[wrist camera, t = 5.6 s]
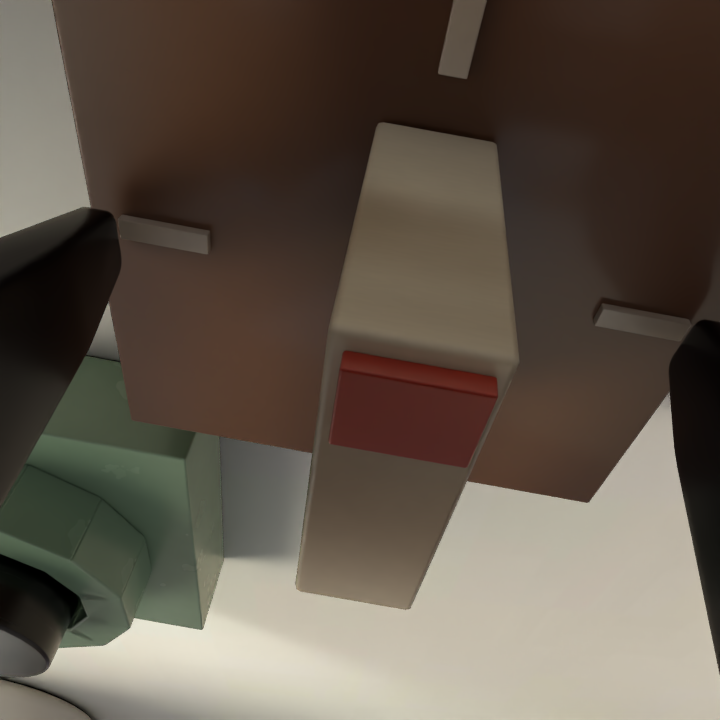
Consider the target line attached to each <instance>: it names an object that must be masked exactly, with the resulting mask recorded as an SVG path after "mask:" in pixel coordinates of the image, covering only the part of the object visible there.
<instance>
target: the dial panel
mask: <svg viewBox="0 0 720 720" xmlns="http://www.w3.org/2000/svg"><path fill="white" fill-rule="evenodd" d="M51 1H52V6H53V11H54V16H55V22H56V27H57V32H58V37H59V43H60V48H61V53H62V58H63V64H64V69H65V74H66V79H67V85H68V90H69V95H70V100H71V106H72V111H73V116H74V121H75V127H76V132H77V137H78V142H79V148H80V153H81V158H82V163H83V169H84V174H85V179H86V184H87V190H88V195H89V200H90V205H91V208H95V209H100V210H106V211H109V212H110V213H112V214H113V216H114V218H115V221H116V226H117V232H118V238H119V244H120V250H121V256H122V265H121V270H120V274H119V276H118V279H117V281H116V284H115V286H114V289H113V291H112V294H111V296H110V299H109V305H110V310H111V316H112V321H113V326H114V331H115V337H116V342H117V347H118V352H119V358H120V363H121V368H122V373H123V379H124V384H125V389H126V394H127V400H128V405H129V410H130V415H131V420H133V421H137V422H143V423H148V424H154V425H159V426H165V427H170V428H176V429H181V430H187V431H192V432H198V433H204V434H209V435H215V436H220V437H226V438H231V439H237V440H242V441H248V442H253V443H259V444H264V445H270V446H276V447H281V448H287V449H292V450H298V451H303V452H309V453H312V451H313V444H314V436H315V428H316V420H317V413H318V405H319V397H320V389H321V382H322V374H323V366H324V358H325V351H326V343H327V335H328V328H329V324H330V319H331V315H332V311H333V307H334V302H335V298H336V294H337V290H338V286H339V281H340V277H341V273H342V269H343V265H344V260H345V256H346V252H347V248H348V243H349V239H350V235H351V231H352V227H353V222H354V218H355V214H356V210H357V206H358V201H359V197H360V193H361V189H362V185H363V180H364V176H365V172H366V168H367V163H368V159H369V155H370V151H371V147H372V142H373V138H374V134H375V130H376V127H377V125H378V123H382V122H385V123H390V124H396V125H401V126H407V127H412V128H418V129H423V130H429V131H434V132H440V133H445V134H451V135H456V136H462V137H467V138H473V139H478V140H484V141H489V142H493V143H495V144H496V145H497V152H498V162H499V171H500V181H501V190H502V200H503V209H504V218H505V228H506V237H507V247H508V256H509V266H510V275H511V285H512V294H513V303H514V313H515V322H516V332H517V341H518V351H519V360H520V363H519V365H518V367H517V369H516V372H515V374H514V376H513V379H512V381H511V383H510V385H509V388H508V390H507V392H506V394H505V397H504V399H503V401H502V403H501V406H500V408H499V410H498V412H497V415H496V417H495V419H494V421H493V424H492V426H491V428H490V430H489V433H488V435H487V437H486V439H485V442H484V444H483V446H482V448H481V451H480V453H479V455H478V457H477V460H476V462H475V464H474V466H473V469H472V471H471V473H470V475H469V478H468V480H467V481H469V482H475V483H480V484H486V485H491V486H497V487H502V488H508V489H514V490H519V491H525V492H530V493H536V494H541V495H547V496H552V497H558V498H563V499H569V500H574V501H580V502H586V503H588V502H589V501H590V500H591V499H592V497H593V496H594V495H595V493H596V492H597V490H598V489H599V488H600V486H601V485H602V484H603V482H604V481H605V479H606V478H607V477H608V475H609V474H610V473H611V471H612V470H613V469H614V467H615V466H616V464H617V463H618V462H619V460H620V459H621V458H622V456H623V455H624V453H625V452H626V451H627V449H628V448H629V447H630V445H631V444H632V442H633V441H634V440H635V438H636V437H637V436H638V434H639V433H640V431H641V430H642V429H643V427H644V426H645V425H646V423H647V422H648V420H649V419H650V418H651V416H652V415H653V414H654V412H655V411H656V409H657V408H658V407H659V405H660V404H661V403H662V401H663V400H664V398H665V397H666V396H667V394H668V393H669V392H670V386H669V364H670V361H671V359H672V357H673V355H674V353H675V352H676V350H677V349H678V348H679V346H680V345H681V343H682V342H683V340H684V339H685V337H686V336H687V334H688V333H689V332H690V330H691V329H692V327H693V326H694V325H695V324H696V323H697V322H698V321H700V320H704V319H706V320H712V321H718V322H720V0H51Z"/></svg>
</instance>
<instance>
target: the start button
mask: <svg viewBox="0 0 720 720" xmlns="http://www.w3.org/2000/svg"><path fill="white" fill-rule="evenodd" d="M77 606H78V597H77V594H75V593H74V592H72V591H71V590H70V589H68V588H67V587H65V586H64V585H63V584H61V583H60V582H58V581H57V580H56V579H54V578H53V577H51V576H50V575H49V574H47V573H46V572H44V571H42V570H40V569H37V568H35V567H32V566H29V565H27V564H24V563H22V562H19V561H17V560H14V559H12V558H9V557H7V556H4V555H2V554H0V676H4V677H29V676H35V675H39V674H41V673H43V672H45V671H46V670H47V669H48V668H49V667H50V665H51V662H52V660H53V658H54V656H55V654H56V652H57V649H58V647H59V645H60V643H61V641H62V639H63V636H64V634H65V632H66V630H67V628H68V626H69V623H70V621H71V619H72V617H73V615H74V613H75V610H76V608H77Z"/></svg>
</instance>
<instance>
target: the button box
mask: <svg viewBox="0 0 720 720" xmlns="http://www.w3.org/2000/svg"><path fill="white" fill-rule="evenodd" d="M0 554H2V555H4V556H7V557H9V558H12V559H14V560H17V561H19V562H22V563H24V564H27V565H29V566H32V567H35V568H37V569H40V570H42V571H44V572H46V573H47V574H49V575H50V576H51V577H53V578H54V579H56V580H57V581H58V582H60V583H61V584H63V585H64V586H65V587H67V588H68V589H70V590H71V591H72V592H74V593H75V594H77V597H78V606H77V608H76V610H75V613H74V615H73V617H72V619H71V621H70V623H69V626H68V628H67V630H66V632H65V634H64V636H63V639H62V641H61V643H60V645H59V647H58V648H67V647H86V646H103V645H106V644H108V643H109V642H111V641H112V640H114V639H115V638H116V637H118V636H119V635H121V634H122V633H124V632H125V631H127V630H128V629H129V628H130V627H131V624H132V622H133V619H134V618H137V619H143V620H149V621H154V622H160V623H165V624H171V625H177V626H182V627H188V628H194V629H199V630H202V629H203V628H204V624H205V621H206V618H207V614H208V611H209V608H210V604H211V601H212V598H213V594H214V591H215V588H216V584H217V581H218V578H219V574H220V571H221V568H222V564H223V561H224V554H223V525H222V497H221V469H220V440H219V436H215V435H209V434H204V433H198V432H192V431H187V430H181V429H176V428H170V427H165V426H159V425H154V424H148V423H143V422H137V421H133V420H131V415H130V410H129V405H128V400H127V394H126V389H125V384H124V379H123V373H122V368H121V363H120V362H117V361H111V360H106V359H100V358H95V357H89V356H85V357H84V359H83V361H82V363H81V365H80V367H79V369H78V370H77V372H76V374H75V376H74V377H73V379H72V381H71V383H70V385H69V386H68V388H67V390H66V392H65V394H64V395H63V397H62V399H61V401H60V403H59V404H58V406H57V408H56V410H55V411H54V413H53V415H52V417H51V419H50V420H49V422H48V424H47V426H46V428H45V429H44V431H43V433H42V435H41V436H40V438H39V440H38V442H37V444H36V445H35V447H34V449H33V451H32V453H31V454H30V456H29V458H28V460H27V461H26V463H25V465H24V467H23V469H22V470H21V472H20V474H19V476H18V478H17V479H16V481H15V483H14V485H13V487H12V488H11V490H10V492H9V494H8V495H7V497H6V499H5V501H4V503H3V504H2V506H1V508H0Z"/></svg>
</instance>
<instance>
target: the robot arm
mask: <svg viewBox="0 0 720 720" xmlns="http://www.w3.org/2000/svg"><path fill="white" fill-rule="evenodd" d="M121 265H122V256H121V250H120V244H119V238H118V232H117V226H116V221H115V218H114V216H113V214H112V213H110V212H109V211H106V210H100V209H95V208H89V207H82V208H79V209H76V210H74V211H71V212H68V213H66V214H63V215H60V216H58V217H55V218H52V219H50V220H47V221H44V222H41V223H39V224H36V225H33V226H31V227H28V228H25V229H23V230H20V231H17V232H15V233H12V234H9V235H6V236H4V237H1V238H0V508H1V506H2V504H3V503H4V501H5V499H6V497H7V495H8V494H9V492H10V490H11V488H12V487H13V485H14V483H15V481H16V479H17V478H18V476H19V474H20V472H21V470H22V469H23V467H24V465H25V463H26V461H27V460H28V458H29V456H30V454H31V453H32V451H33V449H34V447H35V445H36V444H37V442H38V440H39V438H40V436H41V435H42V433H43V431H44V429H45V428H46V426H47V424H48V422H49V420H50V419H51V417H52V415H53V413H54V411H55V410H56V408H57V406H58V404H59V403H60V401H61V399H62V397H63V395H64V394H65V392H66V390H67V388H68V386H69V385H70V383H71V381H72V379H73V377H74V376H75V374H76V372H77V370H78V369H79V367H80V365H81V363H82V361H83V359H84V357H85V356H86V354H87V352H88V350H89V348H90V345H91V343H92V341H93V338H94V336H95V334H96V331H97V329H98V326H99V324H100V321H101V319H102V316H103V314H104V311H105V309H106V306H107V304H108V301H109V299H110V296H111V294H112V291H113V289H114V286H115V284H116V281H117V279H118V276H119V274H120V270H121ZM669 386H670V399H671V412H672V425H673V438H674V448H675V456H676V462H677V468H678V473H679V478H680V483H681V487H682V492H683V497H684V502H685V507H686V512H687V517H688V522H689V527H690V532H691V536H692V541H693V546H694V551H695V556H696V561H697V566H698V571H699V576H700V580H701V585H702V590H703V595H704V600H705V605H706V610H707V615H708V620H709V625H710V629H711V634H712V639H713V644H714V649H715V654H716V659H717V664H718V669H719V674H720V322H718V321H712V320H706V319H704V320H700V321H698V322H697V323H696V324H695V325H694V326H693V327H692V329H691V330H690V332H689V333H688V334H687V336H686V337H685V339H684V340H683V342H682V343H681V345H680V346H679V348H678V349H677V350H676V352H675V353H674V355H673V357H672V359H671V361H670V364H669Z"/></svg>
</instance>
